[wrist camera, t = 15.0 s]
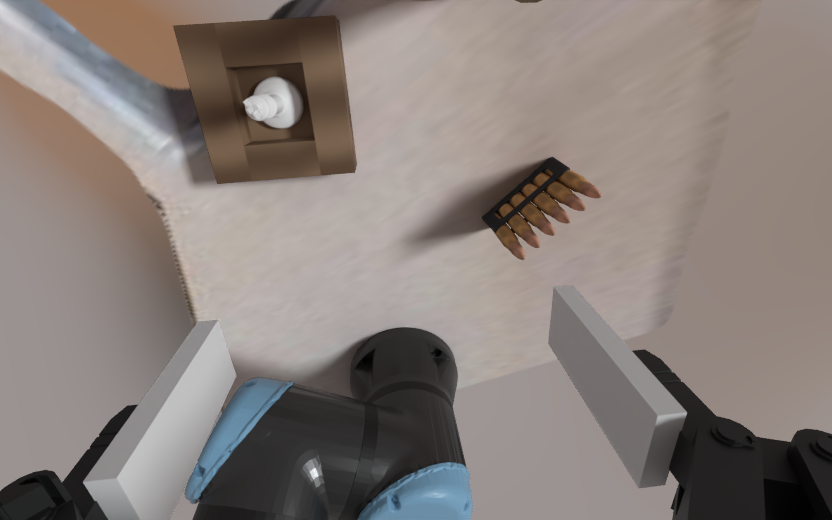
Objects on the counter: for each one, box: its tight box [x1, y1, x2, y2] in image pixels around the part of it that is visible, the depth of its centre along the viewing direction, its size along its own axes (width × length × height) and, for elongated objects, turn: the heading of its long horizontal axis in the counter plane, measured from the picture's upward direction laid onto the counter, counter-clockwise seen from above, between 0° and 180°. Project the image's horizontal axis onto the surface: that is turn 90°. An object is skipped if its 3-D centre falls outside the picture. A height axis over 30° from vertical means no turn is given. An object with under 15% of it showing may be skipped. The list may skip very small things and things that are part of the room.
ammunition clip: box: [482, 157, 601, 260], centre depth 43 cm, size 11×2×12 cm, turn 133°
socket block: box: [173, 16, 357, 184], centre depth 40 cm, size 14×14×4 cm
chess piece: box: [243, 77, 304, 129], centre depth 37 cm, size 5×5×10 cm
